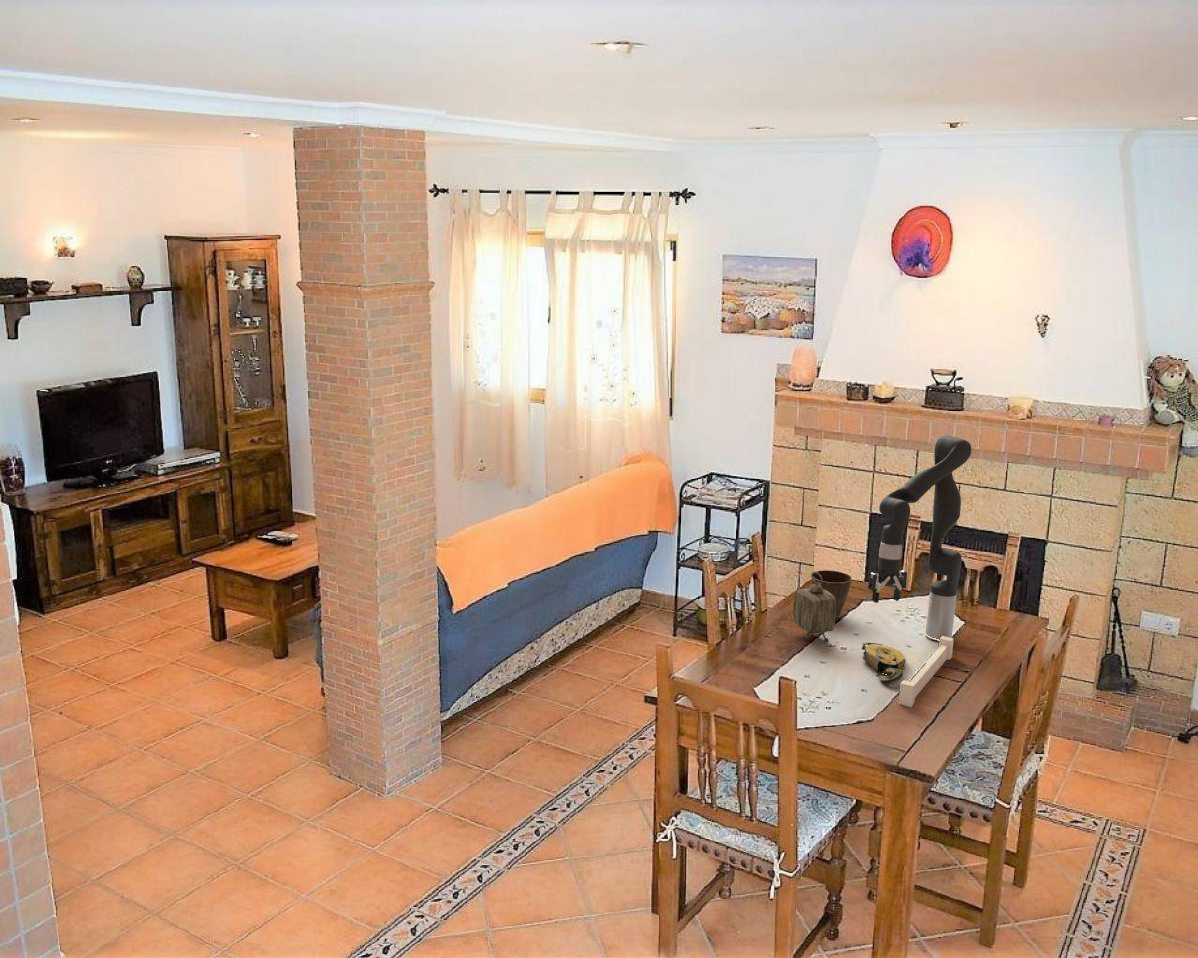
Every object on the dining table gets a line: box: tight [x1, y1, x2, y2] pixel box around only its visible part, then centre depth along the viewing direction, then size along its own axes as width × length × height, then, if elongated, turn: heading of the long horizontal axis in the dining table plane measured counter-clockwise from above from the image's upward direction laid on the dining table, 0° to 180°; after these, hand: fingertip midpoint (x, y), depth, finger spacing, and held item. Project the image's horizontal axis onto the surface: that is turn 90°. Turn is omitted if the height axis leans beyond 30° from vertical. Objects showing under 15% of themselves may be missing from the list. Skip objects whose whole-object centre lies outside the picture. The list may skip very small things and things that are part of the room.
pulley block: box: [861, 642, 906, 686], centre depth 369 cm, size 14×6×30 cm
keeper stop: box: [898, 636, 955, 708], centre depth 362 cm, size 48×4×7 cm, turn 148°
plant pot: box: [811, 570, 852, 620], centre depth 416 cm, size 15×15×16 cm
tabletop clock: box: [792, 570, 836, 643], centre depth 392 cm, size 14×9×25 cm, turn 22°
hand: (885, 601), depth 376 cm, fingers open, 8 cm apart
